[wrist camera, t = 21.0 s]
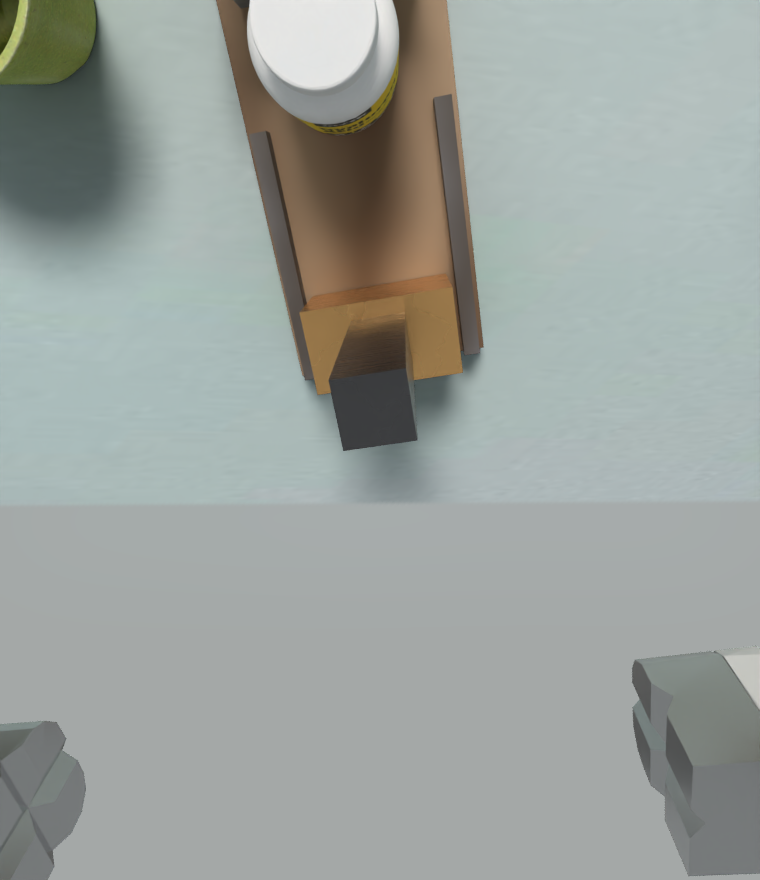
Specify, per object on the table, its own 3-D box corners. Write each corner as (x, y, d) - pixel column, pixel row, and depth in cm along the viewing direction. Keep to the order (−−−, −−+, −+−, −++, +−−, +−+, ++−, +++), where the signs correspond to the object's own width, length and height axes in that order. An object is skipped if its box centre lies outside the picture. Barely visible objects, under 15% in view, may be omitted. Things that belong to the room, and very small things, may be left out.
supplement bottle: (330, 162, 29) (297, 152, 20) (257, 56, 27) (185, -7, 18) (423, 86, 28) (432, 38, 19) (352, -31, 26) (325, -145, 17)
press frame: (306, 368, 35) (282, 414, 28) (210, -57, 27) (144, -140, 20) (480, 340, 34) (500, 380, 27) (431, -109, 26) (441, -215, 19)
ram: (328, 368, 33) (283, 479, 21) (312, 296, 31) (254, 368, 19) (455, 349, 32) (487, 451, 20) (445, 273, 31) (474, 333, 18)
